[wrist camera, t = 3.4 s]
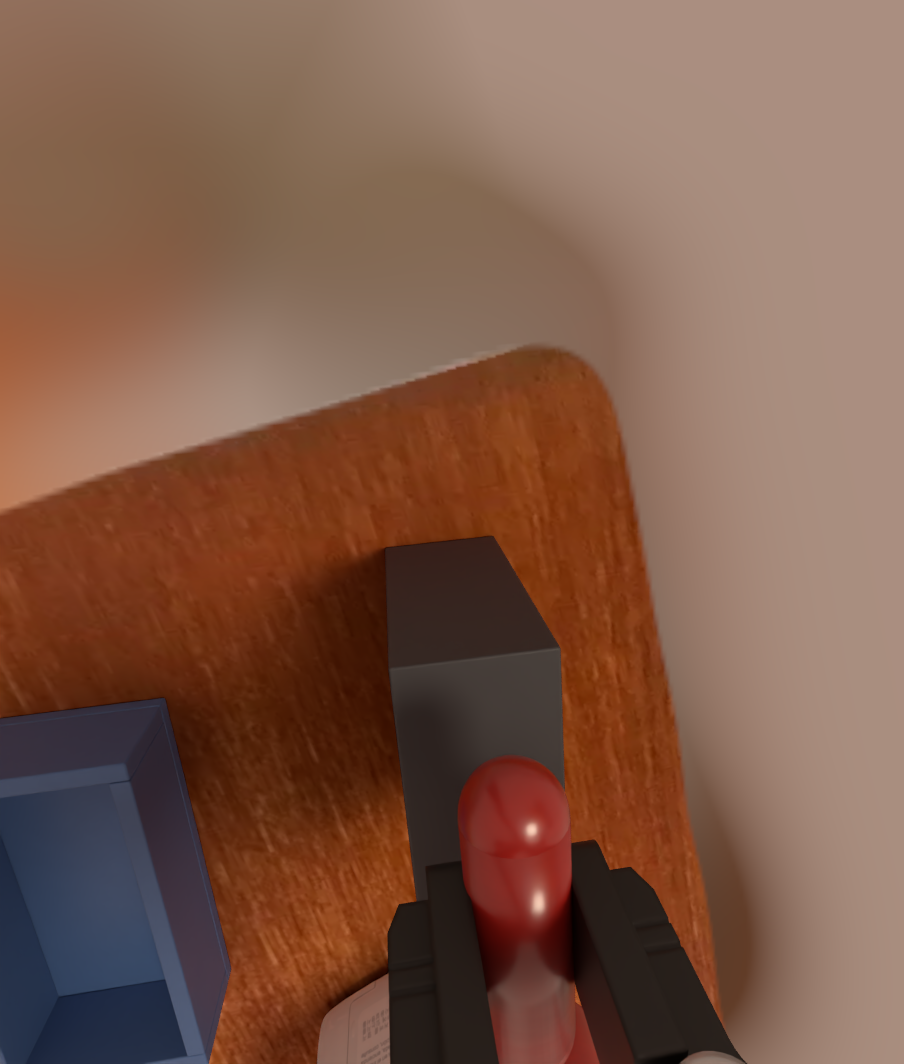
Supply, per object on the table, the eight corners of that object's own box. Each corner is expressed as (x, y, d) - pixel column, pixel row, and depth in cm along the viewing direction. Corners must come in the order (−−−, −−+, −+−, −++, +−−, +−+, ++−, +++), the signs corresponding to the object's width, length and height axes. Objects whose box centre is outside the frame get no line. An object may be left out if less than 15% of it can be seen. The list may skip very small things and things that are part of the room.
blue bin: (-46, 723, 20) (-129, 797, 17) (165, 697, 21) (124, 763, 18) (53, 997, 24) (1, 1102, 21) (231, 968, 25) (208, 1066, 21)
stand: (385, 547, 20) (388, 669, 13) (493, 535, 21) (561, 647, 13) (412, 778, 23) (427, 994, 15) (507, 765, 23) (570, 970, 16)
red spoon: (400, 746, 10) (404, 825, 9) (596, 718, 11) (638, 790, 9) (446, 1122, 13) (456, 1237, 12) (600, 1092, 14) (633, 1200, 12)
